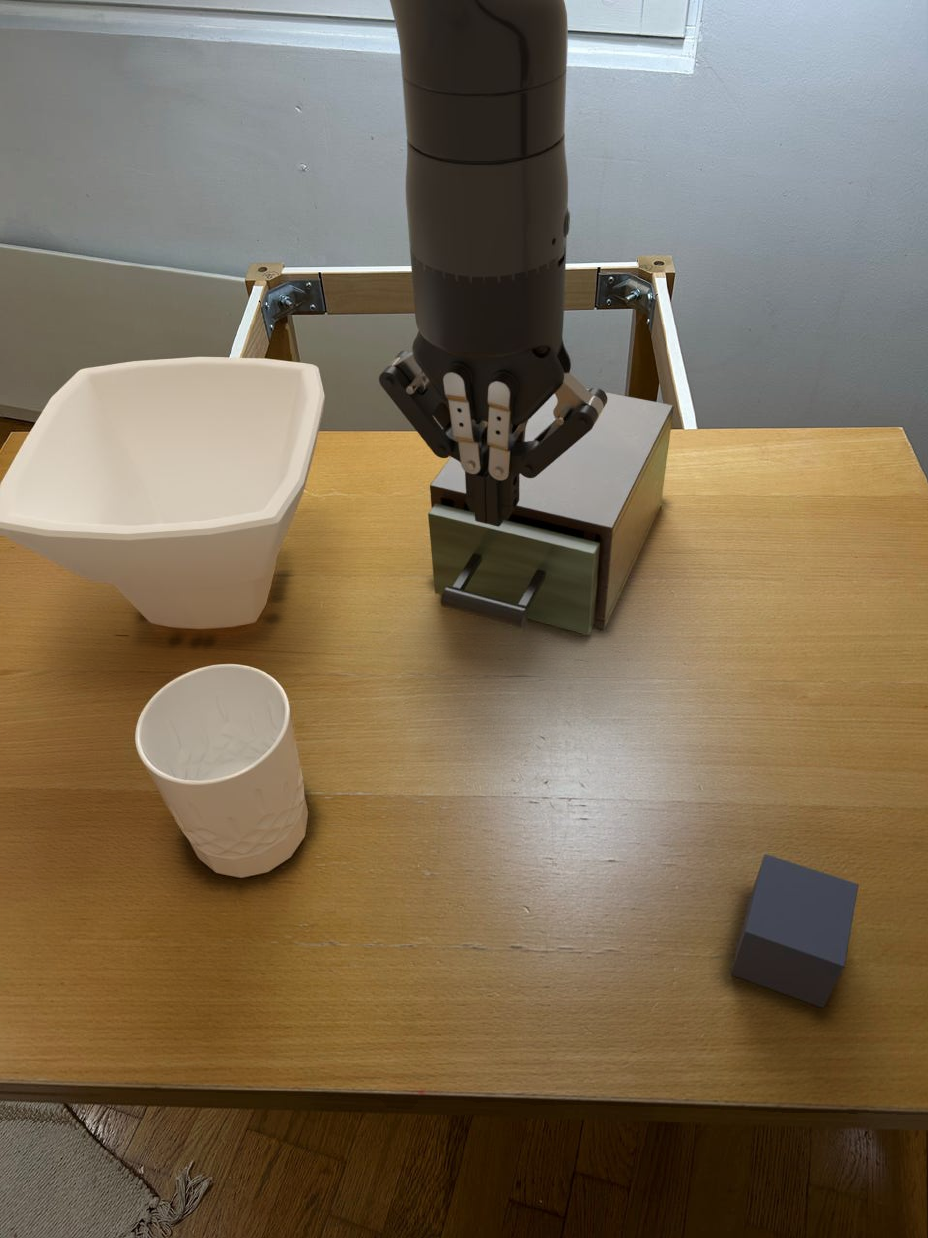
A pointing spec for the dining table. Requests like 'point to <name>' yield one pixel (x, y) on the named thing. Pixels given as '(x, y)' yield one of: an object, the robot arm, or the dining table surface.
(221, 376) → the bowl
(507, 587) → the drawer
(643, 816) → the dining table surface
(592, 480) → the cabinet
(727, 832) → the dining table surface
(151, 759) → the white cup
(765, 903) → the block
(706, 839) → the dining table surface
